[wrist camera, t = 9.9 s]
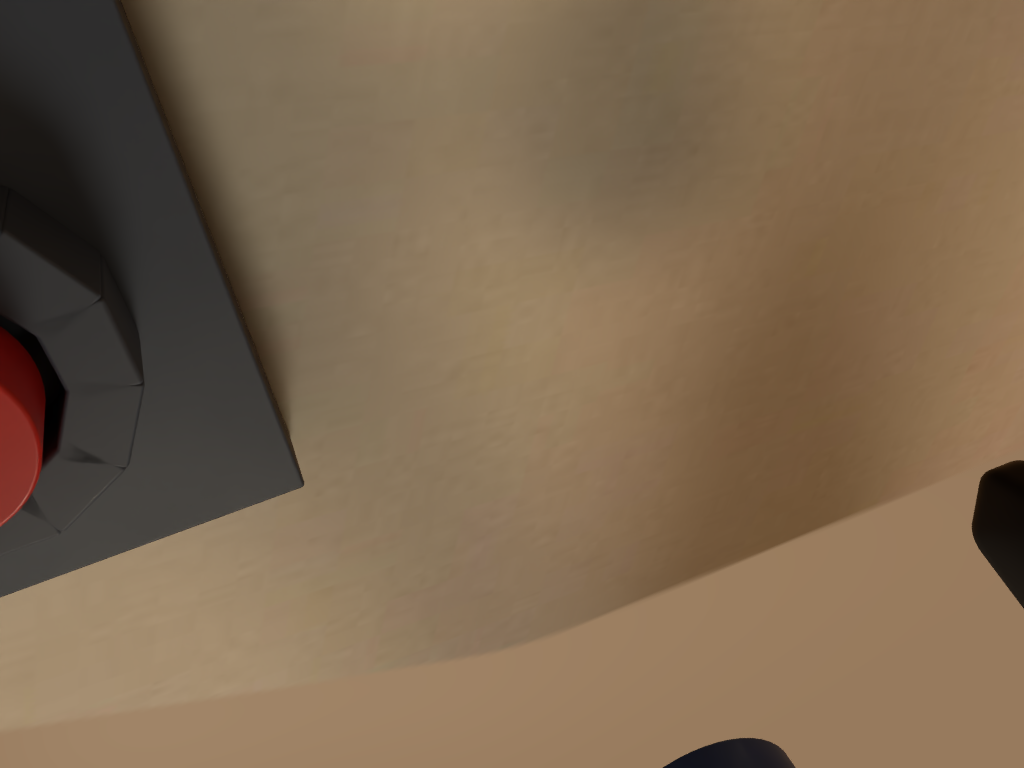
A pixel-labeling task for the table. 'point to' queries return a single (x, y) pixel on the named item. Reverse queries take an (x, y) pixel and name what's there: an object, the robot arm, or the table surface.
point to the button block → (117, 306)
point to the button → (19, 425)
